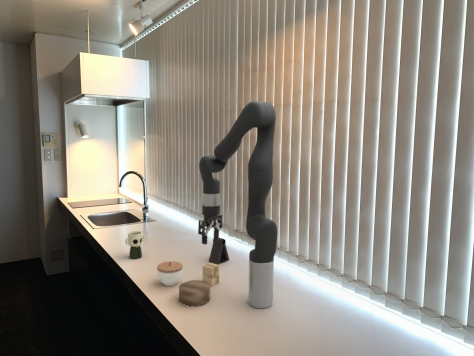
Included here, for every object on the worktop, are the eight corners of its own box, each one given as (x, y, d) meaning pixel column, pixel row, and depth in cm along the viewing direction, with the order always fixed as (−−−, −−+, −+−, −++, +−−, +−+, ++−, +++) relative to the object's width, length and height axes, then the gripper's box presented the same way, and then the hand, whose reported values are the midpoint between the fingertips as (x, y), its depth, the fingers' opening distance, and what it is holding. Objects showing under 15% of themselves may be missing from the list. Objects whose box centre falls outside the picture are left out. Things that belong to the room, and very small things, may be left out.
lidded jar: (167, 290, 143) (167, 268, 142) (152, 283, 150) (152, 262, 149) (187, 282, 151) (187, 261, 150) (172, 275, 158) (172, 255, 157)
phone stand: (217, 265, 172) (217, 241, 170) (208, 262, 175) (208, 238, 174) (229, 260, 178) (229, 237, 177) (221, 257, 182) (221, 235, 181)
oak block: (209, 280, 154) (209, 262, 153) (219, 282, 151) (219, 265, 150) (202, 284, 149) (202, 266, 148) (212, 287, 147) (212, 268, 146)
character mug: (129, 261, 174) (128, 236, 173) (122, 258, 179) (121, 233, 178) (148, 256, 182) (148, 232, 180) (141, 253, 187) (141, 229, 185)
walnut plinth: (192, 289, 144) (192, 277, 144) (216, 296, 138) (216, 284, 137) (172, 301, 134) (172, 288, 133) (197, 309, 128) (197, 296, 127)
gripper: (213, 200, 154) (212, 236, 156) (193, 205, 142) (192, 244, 143) (227, 202, 150) (227, 239, 152) (208, 207, 138) (207, 247, 140)
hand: (210, 241), depth 148 cm, fingers open, 8 cm apart
